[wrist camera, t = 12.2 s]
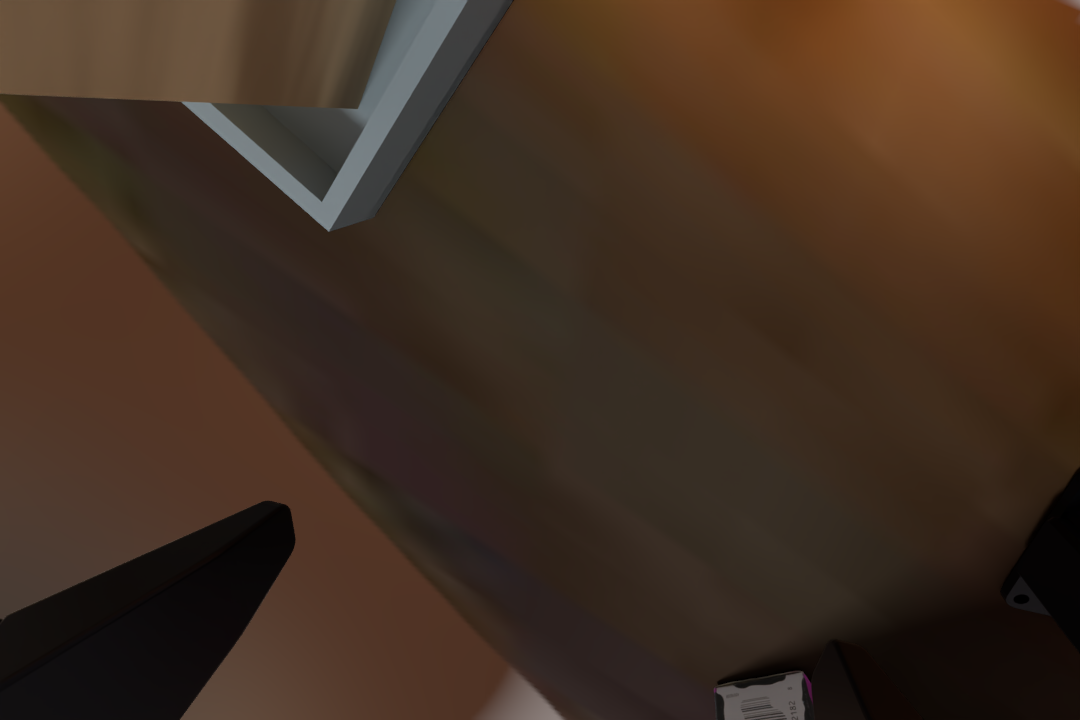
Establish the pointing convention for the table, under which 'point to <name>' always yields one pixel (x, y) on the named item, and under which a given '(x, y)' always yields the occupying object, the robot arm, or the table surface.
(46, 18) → the oak handle block
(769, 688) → the candy bar box
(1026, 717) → the table surface
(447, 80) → the tray
